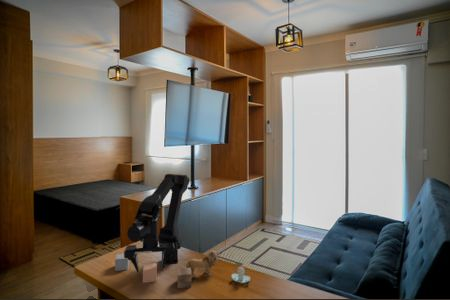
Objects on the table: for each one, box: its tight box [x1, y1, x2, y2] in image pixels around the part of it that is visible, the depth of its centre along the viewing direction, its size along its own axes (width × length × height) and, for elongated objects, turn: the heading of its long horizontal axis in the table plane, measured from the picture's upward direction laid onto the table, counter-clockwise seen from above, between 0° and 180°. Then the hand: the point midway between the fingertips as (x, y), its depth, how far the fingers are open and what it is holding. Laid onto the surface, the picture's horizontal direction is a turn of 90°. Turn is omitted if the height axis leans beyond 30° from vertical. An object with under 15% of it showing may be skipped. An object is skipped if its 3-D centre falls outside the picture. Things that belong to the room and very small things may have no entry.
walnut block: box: [176, 267, 193, 289], centre depth 104 cm, size 5×5×5 cm
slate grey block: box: [114, 253, 130, 272], centre depth 115 cm, size 5×5×5 cm
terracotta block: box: [142, 262, 158, 283], centre depth 107 cm, size 5×5×5 cm
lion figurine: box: [185, 250, 219, 279], centre depth 110 cm, size 15×5×9 cm, turn 112°
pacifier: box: [231, 266, 251, 284], centre depth 107 cm, size 7×6×6 cm
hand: (150, 271), depth 107 cm, fingers open, 9 cm apart
